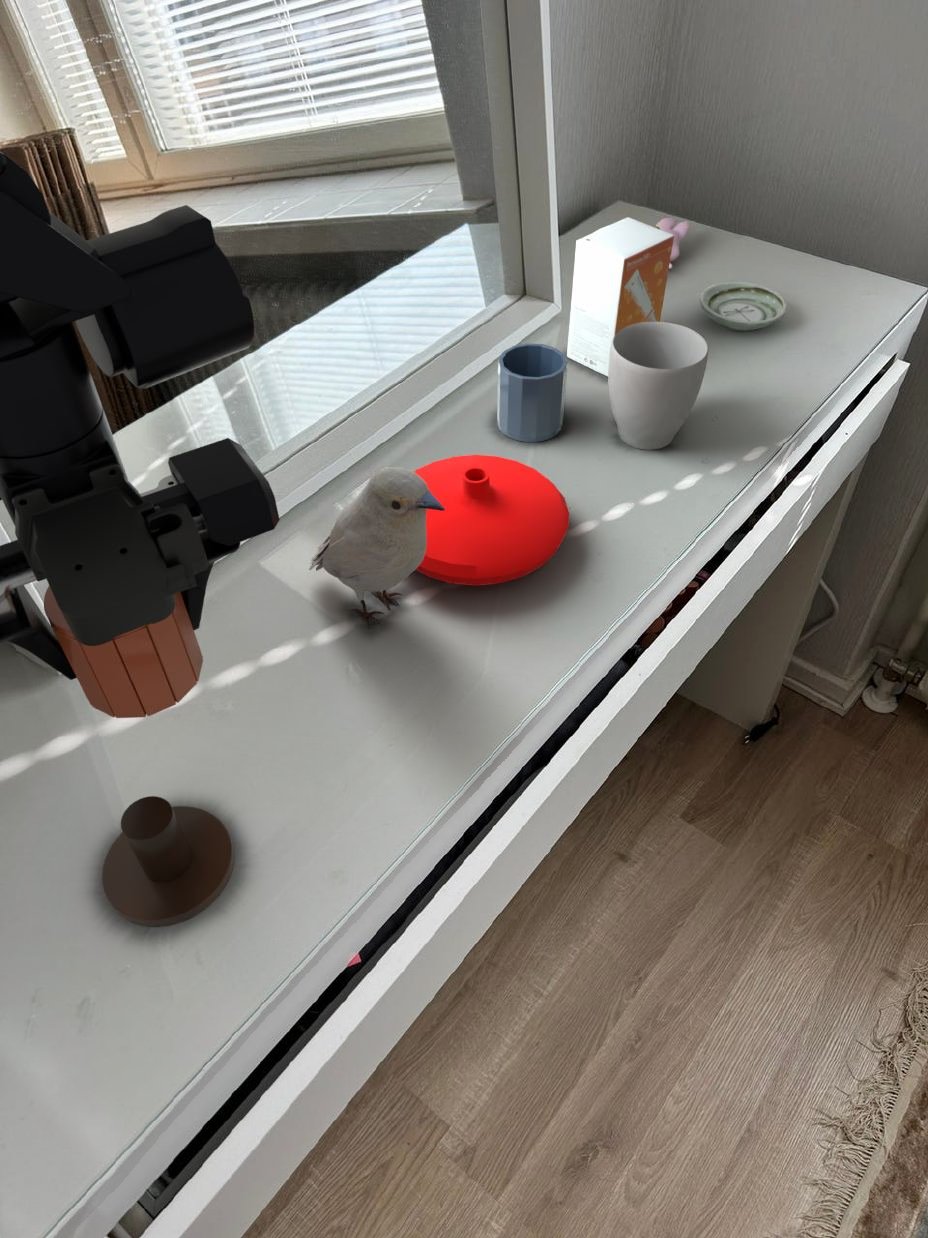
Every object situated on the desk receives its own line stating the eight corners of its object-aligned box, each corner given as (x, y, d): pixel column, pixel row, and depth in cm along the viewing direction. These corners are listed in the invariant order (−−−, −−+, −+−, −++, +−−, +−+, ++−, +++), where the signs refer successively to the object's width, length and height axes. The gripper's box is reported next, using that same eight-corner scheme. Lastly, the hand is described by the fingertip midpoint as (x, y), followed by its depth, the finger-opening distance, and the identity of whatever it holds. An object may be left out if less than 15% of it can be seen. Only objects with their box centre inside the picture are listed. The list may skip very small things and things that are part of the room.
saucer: (739, 350, 101) (743, 330, 99) (679, 314, 106) (682, 295, 105) (800, 325, 104) (806, 305, 103) (739, 292, 110) (743, 273, 108)
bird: (430, 664, 70) (422, 510, 59) (296, 595, 75) (266, 442, 64) (466, 625, 72) (465, 471, 62) (335, 561, 78) (312, 409, 67)
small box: (609, 379, 97) (624, 259, 88) (565, 357, 100) (574, 238, 91) (657, 351, 101) (676, 233, 91) (612, 330, 104) (626, 214, 95)
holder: (128, 951, 54) (98, 905, 50) (89, 849, 59) (59, 799, 55) (254, 885, 57) (236, 836, 53) (207, 792, 62) (188, 741, 58)
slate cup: (521, 450, 88) (524, 386, 83) (485, 417, 92) (485, 354, 87) (575, 429, 91) (581, 366, 86) (537, 398, 95) (540, 336, 90)
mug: (667, 471, 86) (683, 380, 79) (584, 441, 89) (593, 351, 82) (719, 411, 93) (739, 323, 86) (640, 385, 96) (653, 298, 89)
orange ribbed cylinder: (103, 736, 51) (61, 653, 46) (71, 658, 55) (29, 574, 50) (218, 686, 54) (190, 602, 49) (180, 615, 58) (150, 531, 53)
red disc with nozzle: (474, 462, 87) (474, 398, 82) (604, 539, 79) (613, 473, 74) (347, 541, 79) (338, 475, 74) (476, 634, 72) (476, 568, 66)
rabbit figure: (655, 304, 111) (702, 238, 118) (659, 260, 106) (708, 193, 113) (608, 292, 113) (657, 228, 120) (609, 248, 108) (661, 184, 115)
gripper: (-167, 606, 34) (-3, 828, 45) (298, 444, 40) (340, 674, 51) (-194, 453, 40) (-45, 680, 52) (209, 335, 47) (263, 560, 58)
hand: (133, 649), depth 53 cm, fingers closed on orange ribbed cylinder, 7 cm apart
